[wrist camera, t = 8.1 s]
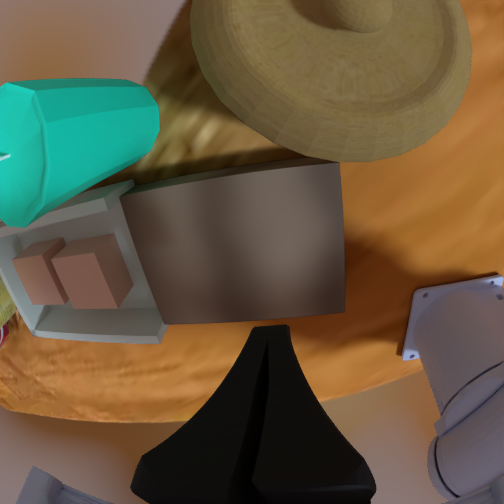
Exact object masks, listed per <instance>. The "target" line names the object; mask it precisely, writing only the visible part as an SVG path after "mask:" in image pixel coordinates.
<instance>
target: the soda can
mask: <svg viewBox="0 0 504 504" xmlns="http://www.w3.org/2000/svg"><path fill="white" fill-rule="evenodd" d="M8 337H9V330H8V324H7V322H6V323H5V324H4V325H3V326H2V327H1V328H0V349H1V348H2V346H3V345H4V344H5V342H6V340H7V339H8Z"/></svg>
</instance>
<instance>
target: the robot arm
mask: <svg viewBox="0 0 504 504" xmlns="http://www.w3.org/2000/svg"><path fill="white" fill-rule="evenodd" d="M490 282H491V283H490ZM502 283H503V277H502V275H495V276H489V277H484V278H479V279H474V280H468V281H463V282H457V283H451V284H445V285H439V286H433V287H427V288H421V289H417V290H416V291H415V292H414V294H413V300H412V306H411V312H410V317H409V323H408V328H407V333H406V337H405V342H404V347H403V351H402V355H401V357H402V359H403V360H404V361H407V360H412V359H417V358H420V359H421V362H422V364H423V367H424V370H425V372H426V375H427V377H428V380H429V383H430V386H431V389H432V391H433V394H434V397H435V400H436V403H437V406H438V409H439V412H440V415H441V418H440V419H439V420H438V421H437V422H436V423H435V424H434V426H435V429H436V432H437V436H436V437H435V438H434V439H433V440H432V441H431V443H430V445H429V449H428V456H427V467H428V473H429V477H430V480H431V482H432V484H433V486H434V487H435V489H436V490H437V491H438V493H439V494H441V495H442V496H443V497H445V498H446V499H447V500H448V502H445V503H442V504H504V288H503V287H502ZM425 293H426V294H425ZM424 294H425V295H424ZM130 488H131V490H132V492H133V493H134V494H135V495H137V496H138V497H140V498H141V499H143V500H145V501H146V502H148V503H149V504H371V501H370V500H371V498H372V497H373V496H374V494H375V493H376V484H375V480H374V478H373V475H372V473H371V471H370V469H369V467H368V465H367V463H366V461H365V459H364V458H363V457H362V456H361V455H360V454H359V453H358V452H357V451H356V449H355V448H353V446H352V445H351V444H350V443H349V442H348V441H347V439H346V438H345V437H344V436H343V435H342V434H341V432H340V431H339V430H338V429H337V427H336V426H335V425H334V423H333V422H332V421H331V419H330V418H329V416H328V415H327V414H326V412H325V411H324V409H323V408H322V406H321V405H320V403H319V402H318V400H317V398H316V396H315V395H314V393H313V391H312V390H311V388H310V386H309V384H308V382H307V380H306V378H305V376H304V374H303V372H302V369H301V367H300V365H299V362H298V360H297V357H296V355H295V352H294V349H293V345H292V342H291V336H290V327H289V326H288V325H286V324H285V325H273V326H259V327H254V328H253V329H252V330H251V333H250V335H249V337H248V339H247V341H246V343H245V345H244V347H243V349H242V351H241V353H240V355H239V356H238V358H237V360H236V361H235V363H234V365H233V367H232V368H231V370H230V371H229V373H228V374H227V376H226V377H225V379H224V380H223V381H222V383H221V384H220V386H219V387H218V388H217V390H216V391H215V392H214V394H213V395H212V396H211V397H210V398H209V400H208V401H207V402H206V403H205V404H204V405H203V406H202V407H201V408H200V410H199V411H198V412H197V413H196V414H195V415H194V416H193V417H192V418H191V419H190V420H189V421H188V422H186V424H184V425H183V426H182V427H181V428H180V429H178V430H177V431H176V432H175V433H174V434H172V435H171V436H170V437H169V438H168V439H166V440H165V441H164V442H162V443H161V444H159V445H158V446H157V447H155V448H153V449H152V450H150V451H149V452H147V453H146V454H144V455H142V457H141V459H140V461H139V463H138V465H137V468H136V470H135V474H134V477H133V480H132V483H131V486H130ZM16 504H113V503H110V502H107V501H104V500H102V499H99V498H96V497H94V496H91V495H88V494H86V493H83V492H81V491H79V490H76V489H74V488H71V487H69V486H67V485H65V484H62V482H61V481H59V480H58V479H56V478H55V477H53V476H52V475H50V474H48V473H46V472H44V471H42V470H40V469H38V468H36V467H34V466H32V468H31V470H30V472H29V474H28V477H27V479H26V481H25V483H24V485H23V488H22V490H21V493H20V495H19V497H18V500H17V502H16Z"/></svg>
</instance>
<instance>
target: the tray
mask: <svg viewBox="0 0 504 504" xmlns="http://www.w3.org/2000/svg"><path fill="white" fill-rule="evenodd" d="M134 186H135V184H134V180H133V179H131V180H127V181H123V182H119V183H115V184H111V185H107V186H104V187H100V188H96V189H92V190H89V191H85V192H82V193H79V194H77V195H76V196H74V197H72V198H71V199H69V200H67V201H66V202H64V203H62V204H61V205H59V206H58V207H56V208H54V209H53V210H51V211H50V212H48V213H47V214H45V215H43V216H42V217H40V218H39V219H37V220H36V221H34V222H33V223H31V224H30V225H28V226H27V227H26V228H21V227H10V226H7V225H6V224H5V223H4V222H3V221H1V222H0V276H1V278H2V280H3V282H4V284H5V286H6V288H7V290H8V292H9V294H10V296H11V298H12V300H13V302H14V304H15V305H16V307H17V309H18V311H19V313H20V314H21V316H22V318H23V320H24V321H25V323H26V325H27V326H28V328H29V330H30V331H31V333H32V335H33V336H37V337H46V338H56V339H67V340H79V341H93V342H111V343H136V344H160V343H161V341H162V339H163V337H164V334H165V332H166V330H167V328H168V326H169V325H165V324H164V322H163V320H162V317H161V315H160V312H159V310H158V308H157V305H156V303H155V300H154V298H153V295H152V292H151V290H150V287H149V285H148V282H147V279H146V277H145V274H144V271H143V269H142V266H141V263H140V260H139V258H138V255H137V252H136V249H135V246H134V243H133V240H132V237H131V234H130V231H129V228H128V225H127V222H126V219H125V215H124V212H123V209H122V206H121V202H120V199H119V196H121V195H122V194H124V193H125V192H127V191H128V190H130V189H131V188H133V187H134ZM113 233H115V236H116V239H117V242H118V245H119V248H120V250H121V253H122V256H123V258H124V261H125V264H126V266H127V269H128V271H129V274H130V277H131V279H132V282H133V284H134V286H133V287H132V289H131V290H130V292H129V293H128V295H127V296H126V297H125V299H124V300H123V302H122V303H121V305H120V306H119V308H112V309H74V307H73V305H72V303H71V302H70V300H68V302H67V303H66V304H62V305H33V304H32V302H31V300H30V298H29V296H28V294H27V292H26V290H25V288H24V286H23V284H22V282H21V280H20V278H19V276H18V274H17V272H16V270H15V267H14V265H13V263H12V261H11V260H12V259H13V258H15V257H16V256H17V255H18V254H19V253H21V252H22V251H23V250H24V249H26V248H27V247H28V246H30V245H31V244H33V243H38V242H43V241H47V240H52V239H57V238H61V237H63V239H64V241H65V244H66V245H67V244H69V243H70V242H71V241H74V240H79V239H85V238H90V237H96V236H102V235H107V234H113Z"/></svg>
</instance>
